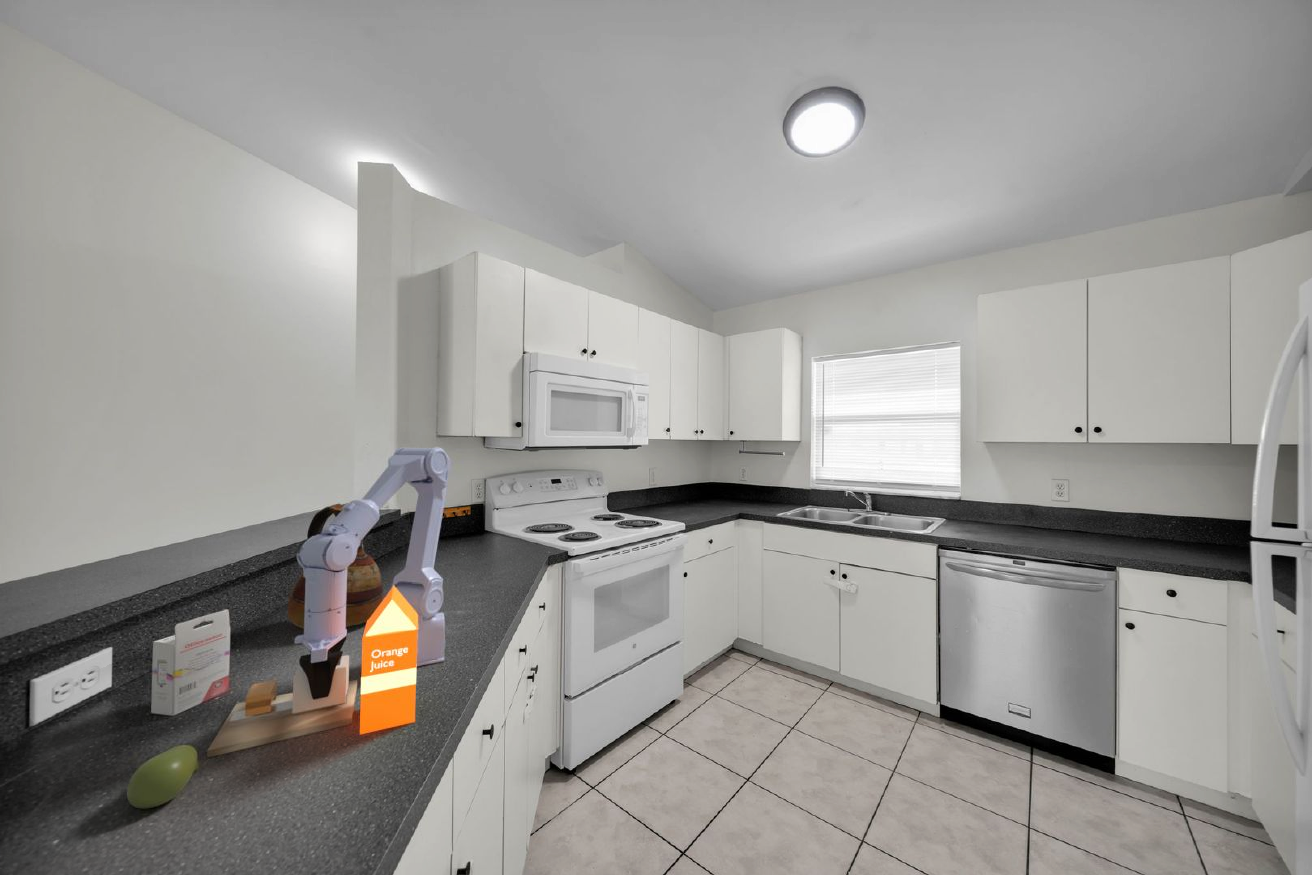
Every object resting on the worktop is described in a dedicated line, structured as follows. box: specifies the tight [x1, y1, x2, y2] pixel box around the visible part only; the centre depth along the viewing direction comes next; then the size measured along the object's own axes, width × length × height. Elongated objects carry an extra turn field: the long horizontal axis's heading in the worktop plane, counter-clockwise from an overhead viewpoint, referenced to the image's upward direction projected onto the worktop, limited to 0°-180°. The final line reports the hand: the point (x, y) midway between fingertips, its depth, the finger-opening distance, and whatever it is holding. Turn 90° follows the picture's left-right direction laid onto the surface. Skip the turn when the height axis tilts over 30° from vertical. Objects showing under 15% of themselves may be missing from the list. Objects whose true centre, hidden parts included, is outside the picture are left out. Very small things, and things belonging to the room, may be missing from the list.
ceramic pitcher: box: [287, 503, 384, 630], centre depth 117 cm, size 20×20×30 cm
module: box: [292, 654, 350, 714], centre depth 78 cm, size 7×5×6 cm
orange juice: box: [359, 585, 418, 735], centre depth 77 cm, size 8×9×20 cm
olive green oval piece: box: [126, 744, 200, 809], centre depth 59 cm, size 6×5×10 cm
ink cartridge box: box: [150, 609, 231, 717], centre depth 80 cm, size 9×5×15 cm, turn 168°
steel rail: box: [229, 689, 349, 728], centre depth 76 cm, size 15×3×1 cm, turn 119°
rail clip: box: [245, 679, 278, 717], centre depth 74 cm, size 3×4×3 cm, turn 29°
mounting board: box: [206, 679, 358, 758], centre depth 76 cm, size 17×14×1 cm
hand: (323, 689), depth 78 cm, fingers closed on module, 5 cm apart
